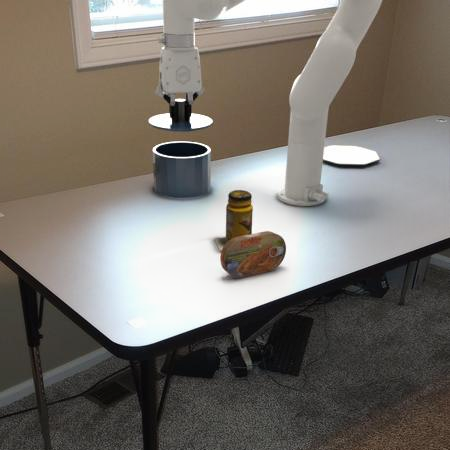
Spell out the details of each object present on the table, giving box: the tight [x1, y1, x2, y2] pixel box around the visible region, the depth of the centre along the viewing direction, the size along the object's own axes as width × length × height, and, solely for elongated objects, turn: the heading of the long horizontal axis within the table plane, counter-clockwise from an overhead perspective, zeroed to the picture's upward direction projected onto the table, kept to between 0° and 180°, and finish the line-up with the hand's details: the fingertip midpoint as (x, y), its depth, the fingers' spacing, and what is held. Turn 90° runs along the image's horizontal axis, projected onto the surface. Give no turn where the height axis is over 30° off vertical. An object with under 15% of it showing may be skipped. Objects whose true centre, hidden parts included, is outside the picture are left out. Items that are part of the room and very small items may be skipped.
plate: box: [323, 145, 381, 166], centre depth 208 cm, size 20×20×2 cm
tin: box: [219, 230, 287, 279], centre depth 138 cm, size 15×3×8 cm, turn 117°
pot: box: [152, 141, 212, 199], centre depth 179 cm, size 16×16×11 cm
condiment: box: [213, 189, 254, 252], centre depth 149 cm, size 7×8×12 cm
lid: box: [148, 98, 214, 133], centre depth 170 cm, size 17×17×6 cm
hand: (180, 119), depth 171 cm, fingers closed on lid, 2 cm apart
